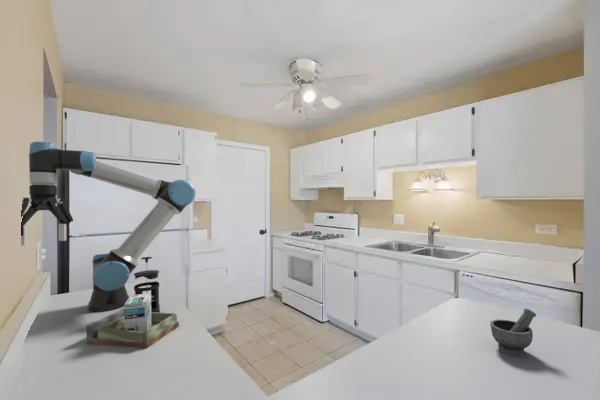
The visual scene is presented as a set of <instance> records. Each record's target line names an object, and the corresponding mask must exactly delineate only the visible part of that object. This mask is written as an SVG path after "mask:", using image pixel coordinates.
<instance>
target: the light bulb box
mask: <svg viewBox="0 0 600 400" xmlns="http://www.w3.org/2000/svg"><path fill="white" fill-rule="evenodd" d="M123 307H124V308H123V309H124V310H125V330H131V331H147V330H148V329H150V326H151V323H152V321H151V292H149V293H148V294H147V293H143V294H139V295H135V294H131V295H130V296H129V298H128V300H127V301H126V303H125V304H124V306H123Z"/></svg>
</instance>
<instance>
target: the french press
mask: <svg viewBox="0 0 600 400" xmlns="http://www.w3.org/2000/svg"><path fill="white" fill-rule="evenodd" d="M151 259H153V257H152V256H145V257H141V258H140V260H144V261H145V267H146V268H145V270H141V271H136V272H134V273H133V276H134V278H135V279H134V280H137V279H138V278H142V277H144V278H145V279H146V282H141V283H138V284H135V285H134V286H133V291H134V295H139V294H144V293H143V292H146V294H148V291H150V293H151V312H160V313H161V309H160V307H161V305H160V291H159V290H160V282H159V281H157V280H156V281H148V280H155V279H157V278H158V277H159V274H160V271H159V270H157V269H153V270H152V269H149V270H148V263H149V260H151ZM148 286H149V287H148Z"/></svg>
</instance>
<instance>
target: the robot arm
mask: <svg viewBox="0 0 600 400" xmlns="http://www.w3.org/2000/svg"><path fill="white" fill-rule="evenodd" d="M96 157H97V155H96V153H95V152H93V151H86V150H72V149H71V150H70V149H60V148H58V146H57V144H56V143H53V142H48V141H32V142H31V143H30V145H29V153H28V162H29V163H28V165H29V184H31V185H29V196H30V198H29V197H22V198H23V200H22V203H23V204H22V210H21V217H22V216H23V218H22V222H21V236H22V237H21V246H20V247H25V246H28V226H25V225H26V224H27V223H28V222H29V221H30V220H31V218H33V216H34V215H35V214H36V213H37V212H39V211H49V212H50V213H51V214H52V215H53V216H54V217H55V218H56V219H57V220H58V221H59V223H58V241H59V242H60V241H61V242H65V241H67V232H68V230H69V224H70V223H71V222H74V218H73V216H72V214H71V212H70V210H69V208H68V207H67V204H66V199H65V198H63V197H62V198H60V197H58V198H57V195H58V186H57V184H58V170H66V171H67V170H69V171H70V172H71V173H72V174H75V175H78V176H79V175H82V176H85V177H88V178H92V179H94V180H98V181H101V182H104V183H108V184H111V185H115V186H118V187H121V188H124V189H129V190H132V191H135V192H138V193H142V194H144V195H148V196H151V197H152V199H155V200H157V204H155V206H154V207H152V209H151V210H150V211H149V213H148V214H147V215H146V216H145V217H144V219H143V220H142V221H141V222H140V223H139V224H138V225H137V226H136V228H134V230H133V231H132V232H131V233H130V235H129V236H128V237H127V238H126V239H125V240H124V241H123V242H122V244H121V245H119V247H118V248H114V249H111V250H110V251H109V252H108V253H102V254H95V255H93V257H92V260H91V261H92V292H91V296H90V300H89V301H88V303H87V309H88V311H90V312H105V311H106V312H107V311H111V310H117V309H120V308H122V307H124V304H125V303H126V301H127V300H128V298H129V297H130V296H129V295H128V292H127V289H126V283H127V282H128V280H129V278H130V275H131V274H132V273H133V271H134V270H135V269H136V267H137V266H138V259H139V258H140V257H141V256H142V254H143V253H144V252H145V251H146V249H147V248H148V247H150V245H151V243H152V242H153V241H154V240H155V239H156V237H157V236H158V235H159V234H160V233H161V231H162V230H164V228H165V227H166V226H167V224H168V223H169V222H170V220H171V219H172V218H173V217H174V216H175V215H181V213H182V211H184V209H185V208H186V206H189V205H190V204H192V203H193V201H194V200H195V198H196V189H195V187H194V185H193V184H192V183H191V182H190V181H187V180H185V179H176V180H173V181H166V180H162V179H158V180H155V179H152V178H150V177H146V176H144V175H143V176H142V175H140V174H137V173H135V172H134V173H133V172H131V171H128V170H124V169H122V168H119V167H116V166H114V165H109V164H106V163H104V162H100V161H98V160H96V159H97V158H96ZM29 204H30V206H29ZM56 204H57V205H56ZM28 206H29V207H28Z"/></svg>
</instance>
